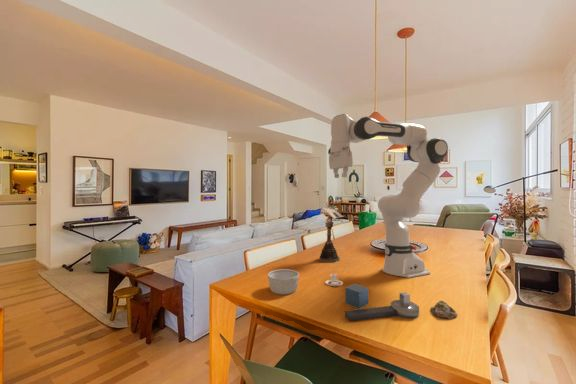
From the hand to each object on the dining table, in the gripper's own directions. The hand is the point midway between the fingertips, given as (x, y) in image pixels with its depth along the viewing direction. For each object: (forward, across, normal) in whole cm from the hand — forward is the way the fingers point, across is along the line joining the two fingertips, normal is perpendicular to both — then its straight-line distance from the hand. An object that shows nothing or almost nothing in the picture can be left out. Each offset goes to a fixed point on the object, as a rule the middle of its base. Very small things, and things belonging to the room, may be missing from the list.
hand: (340, 177), depth 132 cm
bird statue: (+48, +29, -8) cm, 57 cm away
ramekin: (+48, -10, +30) cm, 58 cm away
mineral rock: (+48, -43, -20) cm, 68 cm away
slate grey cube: (+48, -30, +6) cm, 57 cm away
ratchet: (+48, -40, +2) cm, 63 cm away
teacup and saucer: (+49, -8, +9) cm, 50 cm away
